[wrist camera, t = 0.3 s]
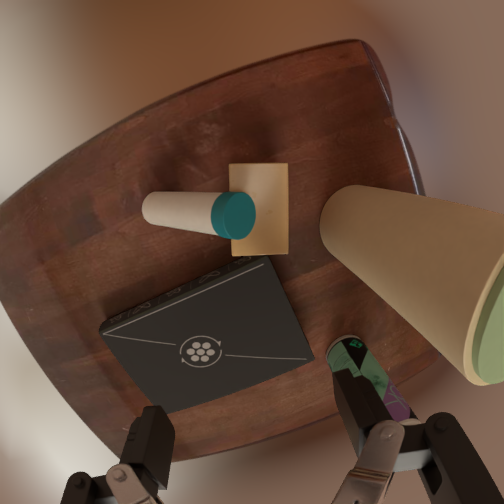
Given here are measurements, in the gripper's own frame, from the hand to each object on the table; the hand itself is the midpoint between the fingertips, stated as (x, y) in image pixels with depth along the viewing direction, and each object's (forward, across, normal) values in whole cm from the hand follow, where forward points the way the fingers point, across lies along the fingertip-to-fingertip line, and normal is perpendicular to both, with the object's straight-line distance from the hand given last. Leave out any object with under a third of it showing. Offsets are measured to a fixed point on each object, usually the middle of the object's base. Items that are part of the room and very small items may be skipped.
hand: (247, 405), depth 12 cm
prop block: (+22, -3, -6) cm, 23 cm away
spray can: (+22, -11, +16) cm, 29 cm away
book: (+22, +6, +8) cm, 24 cm away
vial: (+17, +3, -7) cm, 18 cm away
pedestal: (+22, -14, -1) cm, 26 cm away
